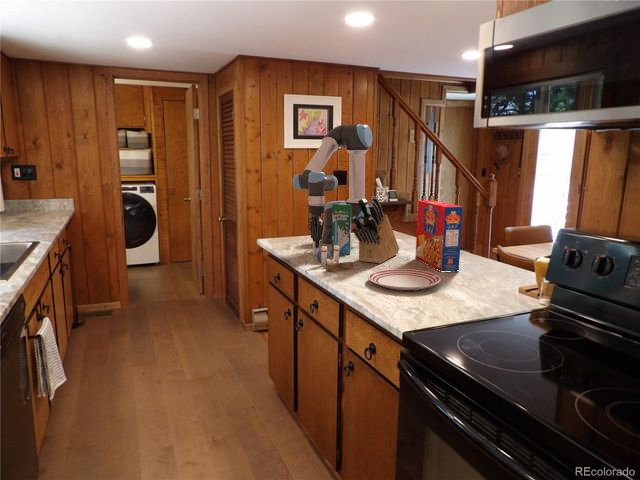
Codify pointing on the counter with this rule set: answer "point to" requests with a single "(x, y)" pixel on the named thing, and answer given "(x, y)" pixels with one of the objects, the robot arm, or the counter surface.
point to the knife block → (374, 234)
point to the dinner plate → (404, 279)
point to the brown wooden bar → (339, 266)
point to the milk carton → (341, 228)
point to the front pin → (330, 261)
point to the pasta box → (439, 234)
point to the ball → (320, 255)
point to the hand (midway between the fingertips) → (316, 254)
